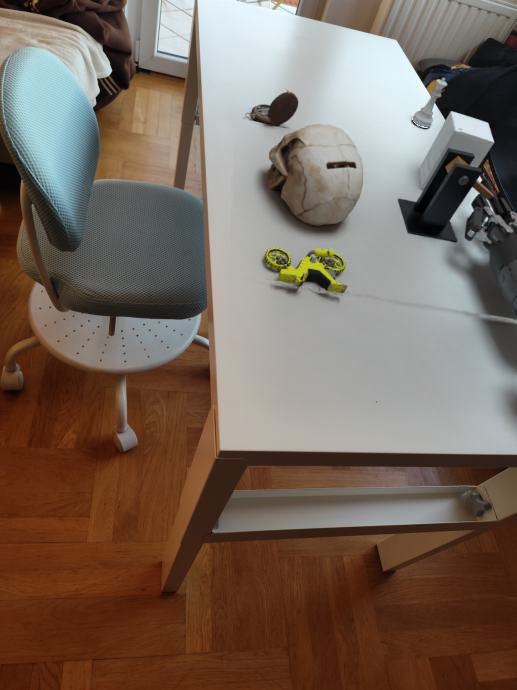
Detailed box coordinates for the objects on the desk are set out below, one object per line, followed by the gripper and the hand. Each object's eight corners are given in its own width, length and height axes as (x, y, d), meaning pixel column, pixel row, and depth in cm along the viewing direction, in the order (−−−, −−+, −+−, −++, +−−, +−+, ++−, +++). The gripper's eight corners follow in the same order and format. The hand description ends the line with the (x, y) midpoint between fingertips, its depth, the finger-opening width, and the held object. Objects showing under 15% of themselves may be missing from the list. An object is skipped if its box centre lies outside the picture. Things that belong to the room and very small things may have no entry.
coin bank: (285, 155, 86) (314, 85, 76) (361, 214, 84) (402, 150, 73) (231, 190, 78) (255, 116, 67) (315, 257, 75) (354, 192, 65)
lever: (480, 189, 83) (492, 179, 82) (496, 222, 78) (509, 212, 76) (439, 154, 78) (452, 143, 77) (453, 188, 73) (467, 176, 71)
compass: (270, 108, 96) (280, 70, 90) (292, 130, 93) (303, 92, 87) (236, 111, 92) (244, 72, 87) (258, 135, 89) (267, 95, 83)
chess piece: (413, 126, 106) (437, 80, 98) (409, 116, 109) (432, 70, 101) (431, 131, 107) (456, 85, 99) (427, 120, 109) (451, 75, 102)
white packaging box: (454, 205, 90) (495, 143, 80) (417, 193, 90) (454, 129, 80) (451, 183, 95) (489, 122, 85) (415, 171, 94) (450, 109, 85)
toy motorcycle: (346, 244, 69) (358, 281, 65) (337, 263, 72) (348, 299, 68) (266, 237, 66) (273, 275, 62) (259, 257, 69) (266, 295, 65)
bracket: (441, 213, 87) (482, 149, 78) (453, 247, 82) (500, 182, 72) (395, 204, 86) (431, 137, 76) (405, 237, 80) (445, 170, 70)
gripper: (587, 263, 68) (539, 188, 78) (499, 247, 65) (461, 172, 75) (550, 299, 73) (509, 225, 84) (468, 286, 70) (436, 211, 81)
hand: (487, 200), depth 79 cm, fingers closed on lever, 3 cm apart
